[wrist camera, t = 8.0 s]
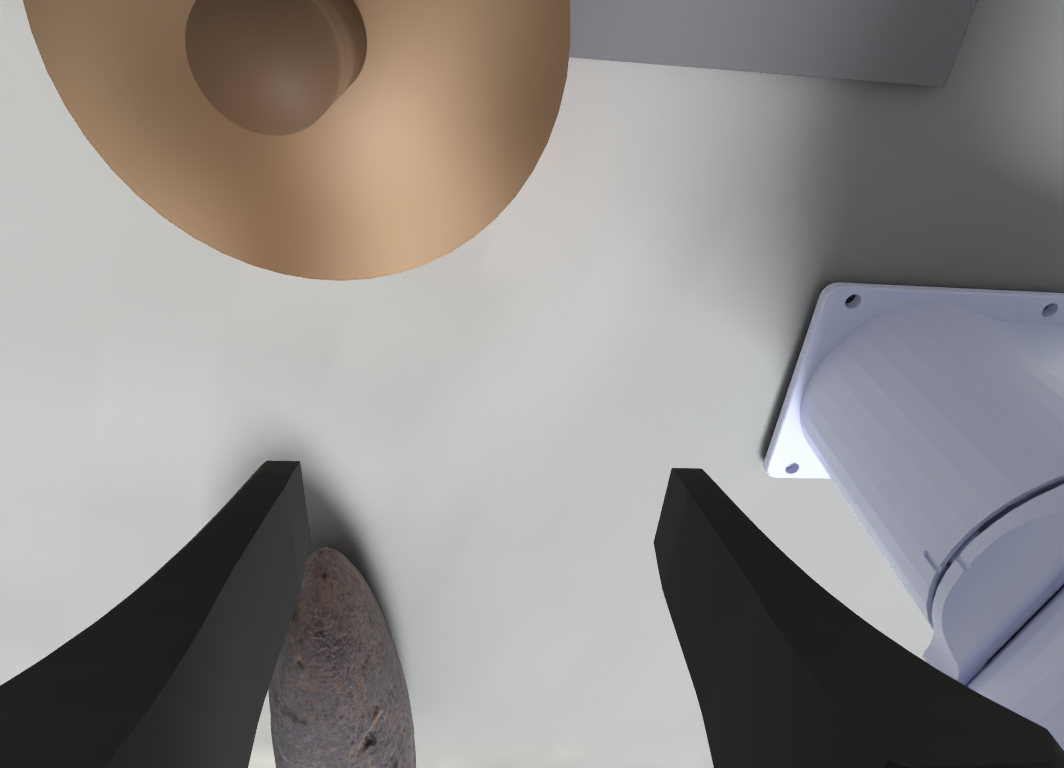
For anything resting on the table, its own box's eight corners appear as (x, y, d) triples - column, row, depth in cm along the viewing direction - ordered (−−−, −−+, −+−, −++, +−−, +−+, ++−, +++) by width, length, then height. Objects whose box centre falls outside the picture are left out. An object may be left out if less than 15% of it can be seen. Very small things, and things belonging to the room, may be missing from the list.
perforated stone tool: (265, 510, 26) (204, 672, 20) (403, 507, 26) (383, 665, 21) (318, 732, 34) (285, 894, 28) (423, 727, 35) (413, 885, 29)
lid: (615, -244, 13) (671, -324, 9) (526, 290, 18) (539, 375, 15) (-32, -394, 11) (-283, -565, 7) (91, 240, 17) (-17, 320, 13)
